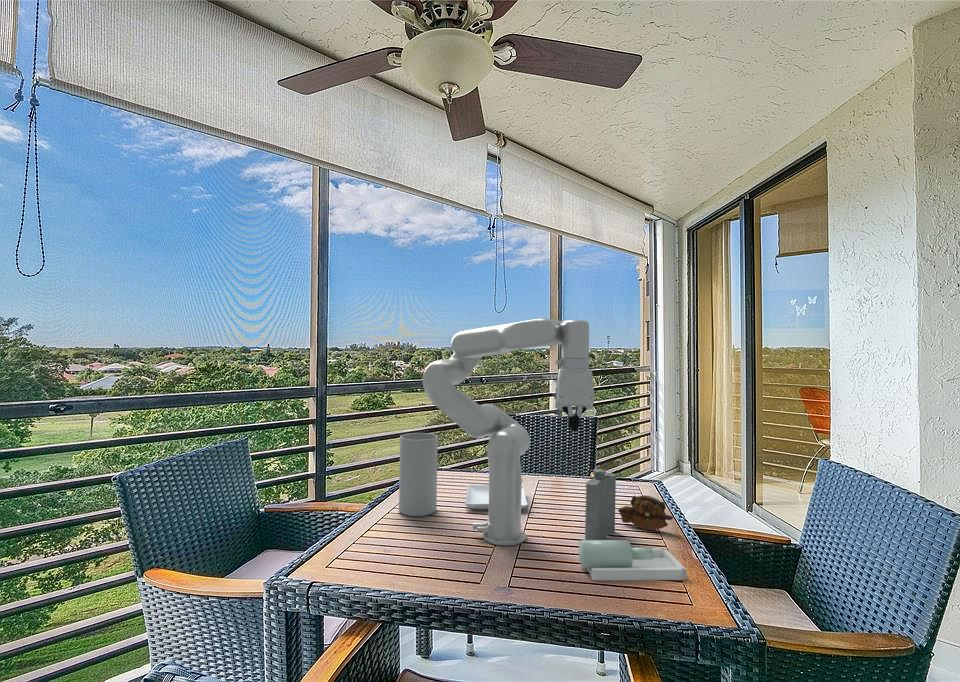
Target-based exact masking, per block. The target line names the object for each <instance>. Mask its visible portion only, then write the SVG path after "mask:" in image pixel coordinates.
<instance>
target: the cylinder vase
mask: <svg viewBox="0 0 960 682" xmlns="http://www.w3.org/2000/svg"><path fill="white" fill-rule="evenodd" d="M438 437H439V436H438V435H437V434H434V433H427V432H413V433H412V432H411V433H405V434H401V435H400V436H399V474H398V475H399V476H398V477H399V485H398V488H399V489H398V491H399V492H398V511H399V513H400V514H402V515H404V516H409V517H415V518H417V517H425V516H430V515H432V514H434V513H435V512H436V511H437V507H438V506H437V505H438V503H437V499H438V498H437V497H438V496H437V495H438V447H439V443H438V441H439V439H438Z"/></svg>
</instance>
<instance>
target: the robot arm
mask: <svg viewBox="0 0 960 682" xmlns="http://www.w3.org/2000/svg"><path fill="white" fill-rule="evenodd" d="M559 345H561V348H560V349H561V350H560V352H561V354H560V355H561V357H560V359H556V360H555V364H556V366H560V368H559V369H558V372H557V376H556V384H555V393H554V394H555V395H554V397H555V400H554V401H555V404H554V408H555V409H557V410H559V411H560V410H561V411H563V412H564V413H565V414H566V415H567V428H569V431H571V432H578V430H579V428H580V426H581V425H580V423H581V420H580V419H581V417H582V415H583V414H584V413H585V412H586V411H589V410H590V411H591V410H593V409H594V403H595V389H594V388H595V387H594V377H593V371H592V369H590V368H589V364H590V363H589V361H590V360H589V359H590V322H588V321H587V320H583V319H567V320H557V319H551V318H536V319H535V318H534V319H529V320H523V321H518V322H512V323H505V324H504V323H502V324H497V325H492V326H491V325H490V326H486V327H485V326H484V327H479V328H471V329H466V330H462V331H459V332H457V333H455V334H454V335H453V337H452V338H451V341H450V348H451V351H452V352H453V354H452V355H451V356H450V358H445V359H444V358H443V359H437V360H435V361H432V362H430V363H429V364H428V365H427V367H425V369H424V371H423V375H422V386H423V390H424V392H425V395H426V396H427V398H428V399H429V401H430V402H431V403H432V404H433V405H434V406H435V407H436V408H438V409H439V410H440V411H441V412H442V413H443V414H445V415H446V416H447V417H448V418H449V419H451V420H452V421H453V422H454V423H455V424H456V425H457V426H458V427H460V428H461V429H462V431H464V432H466V433H467V434H468V435H469V436H470V437H472V438H474V439H483V438H486V437H488V438H489V440H488V444H487V447H486V448H487V449H486V453H487V462H488V485H489V510H488V518H486V521H483V522H472V530H476V532H477V533H481V532H482V538H483V540H485V541H486V542H487V543H488V544H489V543H490V544H491V545H497V546H515V545H519V544H522V543H524V542H525V541H526V539H527V533H526V532H525V531H524V530H522V523H521V521H522V509H521V487H523V486H522V481H523V480H522V466H521V464H522V463H521V456H523V455H524V454H525V453H526V452H527V451H528V449H529V448H530V445H531V437H530V435H529V432H528V431H527V429H526V428H525V427H524V426H523V425H521V424H520V423H519V422H518V421H517V420H515V419H514V418H512V417H511V416H510V415H509V414H508V413H506V411H504V410H502V409H501V408H499V407H498V406H497V405H495V404H492V403H483V404H479V403H477V402H476V401H475V400H473V399H472V398H470V397H469V395H467V394H466V393H464V392H463V391H462V390H459V389H458V388H456V387H455V386H456V385H460V384H461V383H463V382H464V381H465V380H466V379H467V378H468V377H469V375H470V374H471V372H472V371H473V370H474V369H475V368H476V366H477V365H478V364H479V362H480V361H481V360H482V359H483V357H487V356H495V355H502V354H507V353H509V352H511V351H512V352H513V351H517V350H522V349H529V348H530V349H531V348H536V347H549V346H559ZM573 407H575V408H574V409H575V410H573ZM573 411H574V412H573Z"/></svg>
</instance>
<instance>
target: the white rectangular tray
mask: <svg viewBox="0 0 960 682" xmlns="http://www.w3.org/2000/svg"><path fill="white" fill-rule="evenodd" d="M651 548H652V549H653V553H654V558H653V560H633V563H632V566H631V567H585V568H586V570H587V572H588V573H589V575H590V577H591V580H592V581H686V580H687V574H688V573H687V571H688V570H687V568H686V567H685V566H684V565H683V564H682V563H681V562H680V561H678V559H676V558H675V556H674V555H673V554H672V553H671V552H670V551H669V550H668V549H667V548H666V547H651Z"/></svg>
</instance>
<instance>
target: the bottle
mask: <svg viewBox="0 0 960 682" xmlns="http://www.w3.org/2000/svg"><path fill="white" fill-rule="evenodd" d="M631 545H632V544H631V542H630V541H629V540H628V539H602V540H585V539H581V540H579V544H578V557H579V563H580V566H581V568H586V567H631V566H632V563H633V560H653V558H654V553H653V549H652V548H653V547H632V546H631Z"/></svg>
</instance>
